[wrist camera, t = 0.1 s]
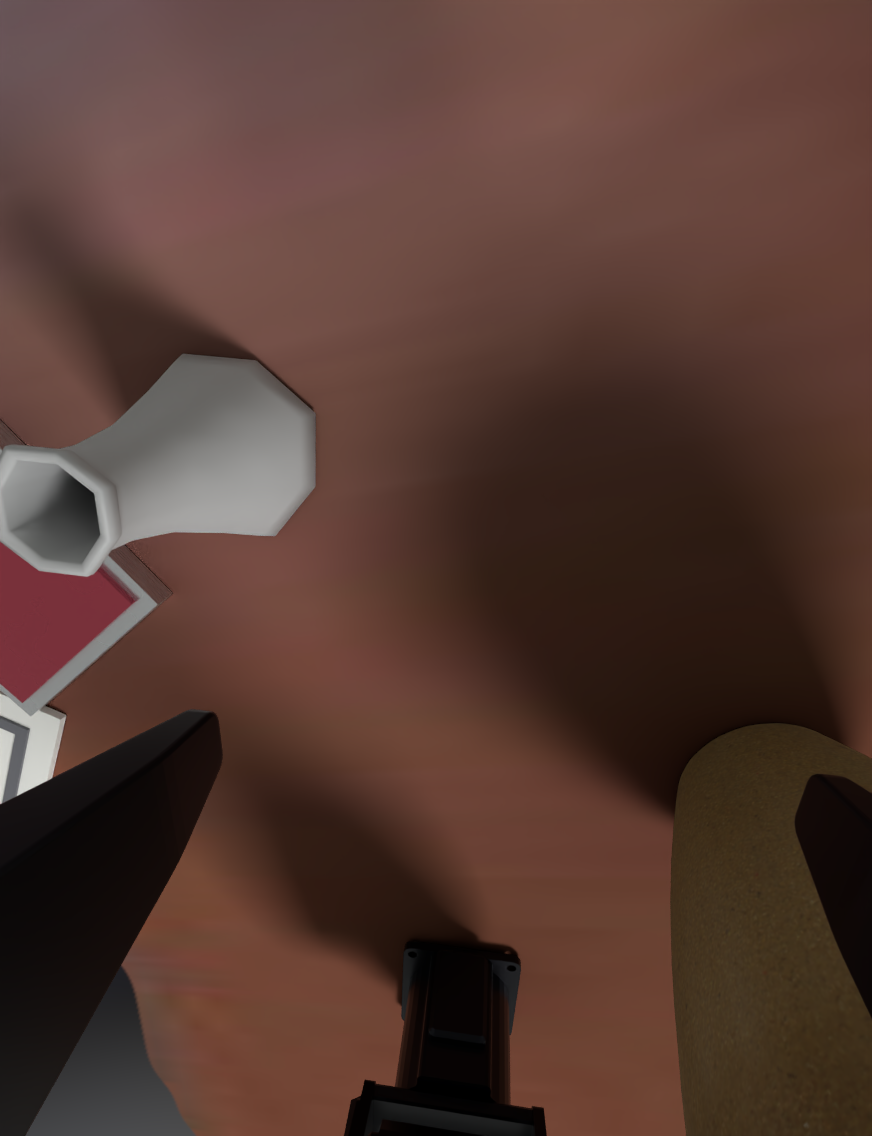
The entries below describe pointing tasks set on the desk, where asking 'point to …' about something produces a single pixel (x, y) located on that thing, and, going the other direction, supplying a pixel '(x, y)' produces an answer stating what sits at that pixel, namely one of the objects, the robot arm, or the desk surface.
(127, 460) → the flask
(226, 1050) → the desk surface
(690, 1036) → the plant pot
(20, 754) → the marked board
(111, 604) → the ink pad
